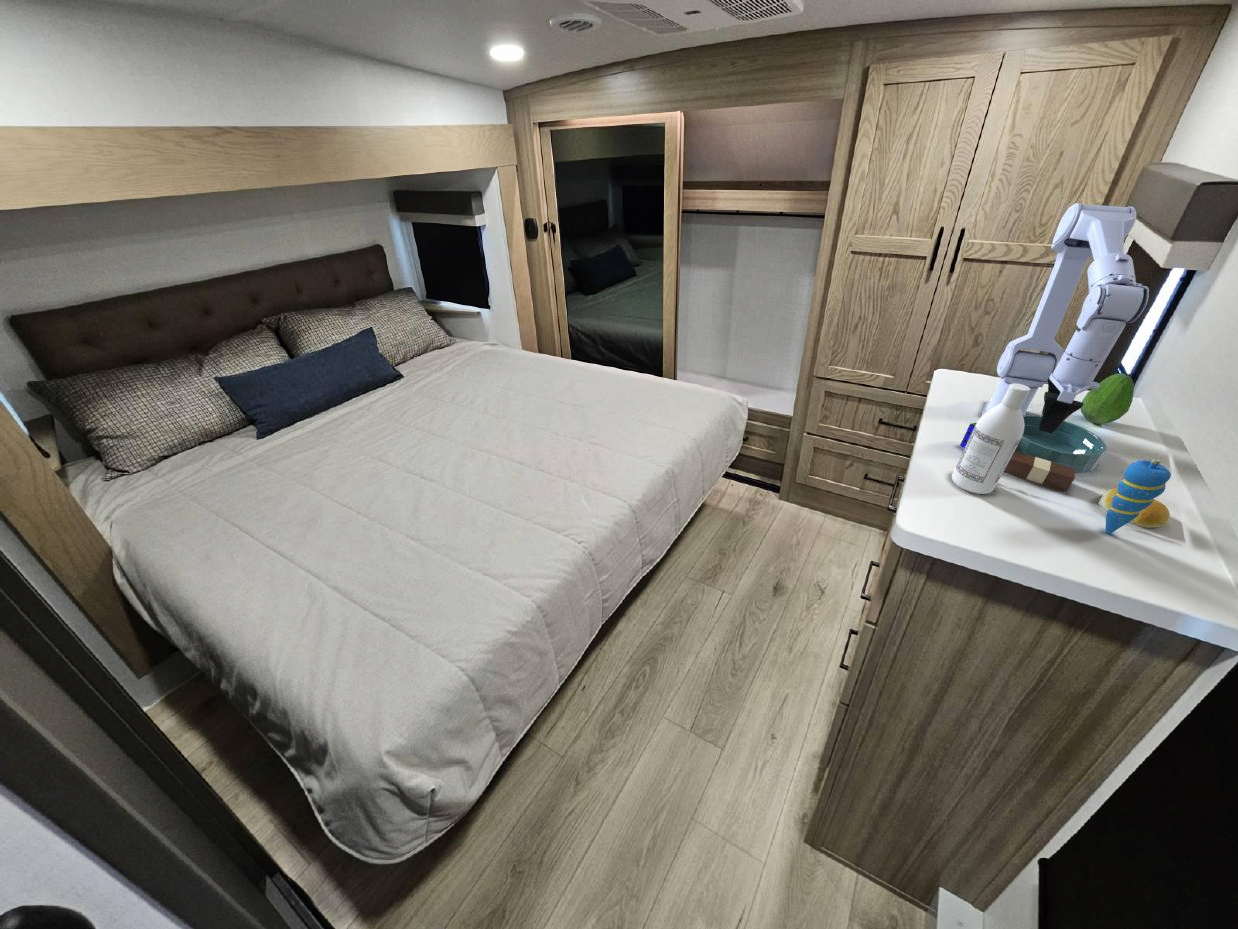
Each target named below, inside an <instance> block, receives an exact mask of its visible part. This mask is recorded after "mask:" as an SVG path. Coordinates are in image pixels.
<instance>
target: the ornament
mask: <svg viewBox="0 0 1238 929" xmlns="http://www.w3.org/2000/svg"><path fill="white" fill-rule="evenodd" d="M1157 457H1159V458H1160V459H1158V458H1157ZM1162 459H1163V458H1162V457H1161V456H1159V455H1157V456H1155V457H1154V458H1153V459H1152V460H1146V459H1140V460H1136V461H1134V462H1132V463H1131V464H1129V465H1128V466H1127V467H1125V468H1126V469H1125V470H1124V473H1123V479H1121V480H1120V481H1119V483H1118V484H1117V487H1118V494H1116V495H1115V496H1114V498H1113V500H1112V506H1111V508H1110V509H1109V510H1108V511H1106V515H1105V528H1104V532H1105V533H1106V534H1107V535H1111V534H1113V533H1114V532H1116V531H1117V530H1119V529H1121V528H1122V527H1123V526H1125V525H1127V524H1129V523H1131V522H1130V521H1132V520H1133V519H1135V518H1136V517H1137V516H1138V515H1139V514H1140V512H1141V510H1143V509H1145V508H1147V507H1148V506H1150V505H1151V504H1152V502H1153V500H1154V499H1156V498H1157V497H1160V496H1161V495H1162V494H1163V493H1164V492H1165V491H1166V485H1167V484H1166V483H1168V481H1169V480H1170V479H1171V476H1172V474H1171V471H1170V470H1169V469H1168V468H1167V467H1166V466H1163V465H1162V464H1161V463H1162V461H1161V460H1162Z"/></svg>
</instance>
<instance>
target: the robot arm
mask: <svg viewBox="0 0 1238 929" xmlns="http://www.w3.org/2000/svg"><path fill="white" fill-rule="evenodd" d="M1136 219H1137V211H1136V208H1135V206H1115V205H1114V206H1111V205H1101V204H1100V205H1099V204H1083V203H1079V202H1076V203H1073V205H1071V206H1069V208H1067V209H1066V211H1065V212H1064V214H1063V216H1062V217H1061V219H1060V221H1059V224H1058V226H1057V228H1056V231H1055V234H1054V236H1053V240H1052V242H1051V243H1052V245H1051V247H1050V249H1051V250H1053V251H1054V252H1055V253H1057V255H1056V258H1055V262H1054V265H1053V268H1052V270H1051V273H1050V276H1049V278H1048V279H1047V280H1048V281H1047V283H1046V285H1045V288H1044V291H1043V293H1042V296H1041V299H1040V301H1039V303H1038V306H1037V309H1036V312H1035V313H1034V316H1033V319H1032V322H1031V324H1030V327H1029V328H1028V331H1027V334H1025V335H1023V336H1020V337H1017V338H1015V339H1013V340H1011V341H1009V342H1008V343H1007V345H1006V346H1005V349H1004V351H1003V353H1001V356H1000V358H999V360H998V362H997V367H996V373H997V375H998V377H1000V379H999V381H998V383H997V385H996V387H995V389H994V392H993V393H992V396H991V398H990V400H987V401H986V403H985V406H984V408H983V410H982V413H981V416H983V415H984V414H985V413H986V412H987V411H989V410H990V409H992V408H994V407H995V406H997V405H999V404H1001V403H1002V400H1003V398H1004V396H1005V394H1006V392H1007V390H1008V388H1009V386H1010V384H1014V383H1016V384H1022V385H1025V386H1027V387H1029V388H1030V392H1029V394H1028V396H1027V398H1026V400H1025V402H1024V404H1023V405H1022V407H1021V411H1022V414H1023V415H1027V410H1028V409H1029V406H1030V405H1031V403H1032V401H1033V399H1034V398H1035V396H1036V393H1037V392H1038V390H1039V389H1040V388H1043V387H1044V386H1045V385H1046V384H1047V391H1045V392H1044V395H1043V403H1044V404H1043V407H1042V411H1041V416H1042V418H1041V421H1040V424H1039V430H1041V431H1044V432H1048V433H1052V432H1054V431H1055V430H1056V429H1057V428H1058V427H1059V425H1060V424H1061V423H1062V422H1063V421H1066V419H1068V417H1070V416H1071V415H1072V414H1074V413H1075V412H1077V411H1080V410H1081V409H1080V408H1081V407H1082V406H1083V402H1082V401H1079V400H1075V399H1076V397H1077V395H1080V394H1081V393H1084V392H1085V391H1088V390H1091V389H1095V390H1097V389H1098V388H1099V383H1100V382H1097V381H1094V380H1095V378H1096V376H1097V375H1098V373H1099V371H1100V370H1101V368H1102V366H1103V364H1104V363H1105V361H1106V360H1107V358H1108V356H1109V354H1110V353H1111V351H1112V350H1113V348H1114V346H1115V344H1116V343H1117V341H1118V339H1119V338H1120V335H1121V334H1122V333H1123V331H1124V329H1125V327H1126V326H1127V324H1131V323H1134V322H1135V321H1137V320H1138V319H1139V317H1141V315H1142V314H1143V312H1144V310H1145V309H1146V306H1147V304H1148V302H1149V299H1150V298H1149V297H1150V288H1149V287H1148V286H1146V285H1143V284H1142V283H1138V282H1137V281H1136V279H1137V278H1136V274H1135V266H1134V260H1133V258H1132V257H1131V255H1129V254H1127V253H1124V248H1125V247H1124V244H1125V238H1126V237H1127V236H1128V235H1129V233H1130V232H1131V230H1132V229H1133V227H1134V225H1135V223H1136ZM1090 258H1093V261H1092V263H1091V264H1090V265H1089V266H1088V268H1087V273H1086V274H1087V285H1088V295H1087V296H1086V297H1085V299H1084V301H1083V304H1082V308H1081V312H1080V314H1079V317H1078V318H1077V321H1076V323H1075V324H1076V326H1077V327H1076V329H1075V331H1074V333H1073V335H1072V337H1071V339H1070V340H1069V343H1068V344H1067V346H1066V348H1065V350H1064V349H1063V348H1062V346H1061V345H1060V344H1059V343H1058V342H1057V341H1056V340H1055V338H1056V336H1057V334H1058V331H1059V329H1060V327H1061V324H1062V322H1063V320H1064V316H1065V315H1066V312H1067V310H1068V307H1069V305H1070V302H1071V300H1072V297H1073V295H1074V293H1075V291H1076V287H1077V286H1078V283H1079V280H1080V277H1081V275H1082V273H1083V270H1084V268H1085V266H1086V263H1087V261H1088V260H1089V259H1090ZM1027 350H1028V351H1027ZM1029 350H1030V351H1029ZM1034 351H1037V352H1034ZM1042 352H1044V353H1042ZM1045 352H1046V353H1045Z"/></svg>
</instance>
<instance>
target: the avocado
mask: <svg viewBox="0 0 1238 929" xmlns="http://www.w3.org/2000/svg"><path fill="white" fill-rule="evenodd" d="M1098 383H1099V388H1098V389H1097V390H1095V389H1089V391H1088V392H1087V393H1086V394H1085V396H1083V398H1082V400H1081V402H1083V406H1082V407H1081V408H1080V409H1079V410H1080V413H1081V415H1082V416H1083V417H1084V419H1085V420H1086V421H1088V422H1089V423H1092V424H1097V425H1105V424H1111V423H1113V422H1115V421H1117V420H1119V419H1121V418H1122V417H1124V415H1126V414H1127V413H1128V412H1129V410H1130V409H1131V408H1130V407H1131V406H1132V403H1133V399H1134V392H1135V382H1134V380H1133V379H1132V377H1130V376H1129V375H1128V374H1126V373H1121V372H1119V373H1114V374H1112V375H1109V376H1108V377H1106V378H1104V379H1103V380H1102V381H1100V382H1098Z"/></svg>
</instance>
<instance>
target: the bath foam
mask: <svg viewBox="0 0 1238 929" xmlns="http://www.w3.org/2000/svg"><path fill="white" fill-rule="evenodd" d="M1029 392H1030V388H1029V387H1027V386H1025V385H1022V384H1016V383H1014V384H1010V386H1009V388H1008V390H1007V392H1006V394H1005V396H1004V398H1003V400H1002V403H1001V404H999V405H997V406H995V407H994V408H992V409H990V410H989V411H987V412H986V413H985V414H984V415H981V417H980V418H978V420H977V421H976V422H975V423H976V425H975V427H974V429H973V432H972V434H971V436H970V438H969V440H968V442H967V444H966V446H965V448H963V450H962V453H961V455H960V456H959V460H958V461H957V464H956V466H955V468H954V470H953V472H952V475H951V479H952V481H953V482H954V484H955V485H956V486H958V487H959V488H961V489H963V490H964V491H967V492H970V493H972V494H979V495H985V494H990V493H992V492H993V491H994V490H995V488H996V487H997V484H998V483H999V481H1000V479H1001V477H1002V475H1003V474H1004V473H1005V472H1004V470H1005V468H1006V466H1007V464H1008V462H1009V461H1010V459H1011V457H1012V455H1013V453H1014V451H1015V449H1016V447H1017V446H1018V444H1019V442H1020V440H1021V438H1022V435H1023V432H1024V418H1023V414H1022V411H1021V407H1022V405H1023V404H1024V402H1025V400H1026V398H1027V396H1028V394H1029Z"/></svg>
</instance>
